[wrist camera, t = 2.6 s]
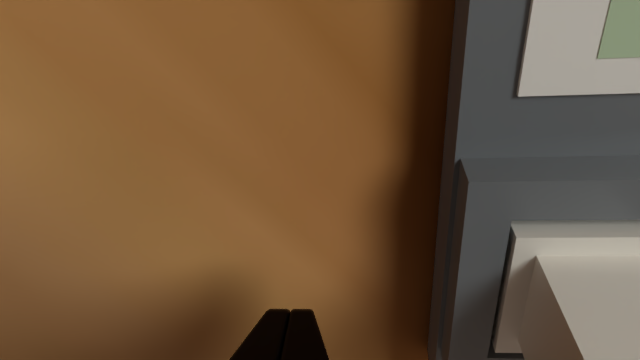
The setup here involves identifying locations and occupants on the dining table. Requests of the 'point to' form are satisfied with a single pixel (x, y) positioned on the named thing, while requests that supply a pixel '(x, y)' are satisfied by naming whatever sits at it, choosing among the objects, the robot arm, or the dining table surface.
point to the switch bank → (529, 144)
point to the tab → (570, 291)
